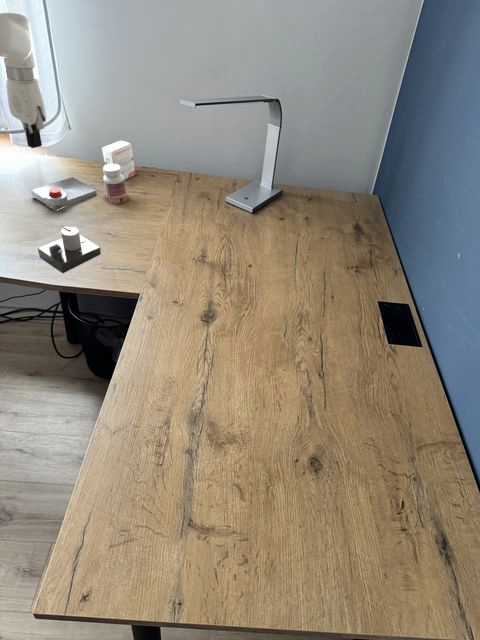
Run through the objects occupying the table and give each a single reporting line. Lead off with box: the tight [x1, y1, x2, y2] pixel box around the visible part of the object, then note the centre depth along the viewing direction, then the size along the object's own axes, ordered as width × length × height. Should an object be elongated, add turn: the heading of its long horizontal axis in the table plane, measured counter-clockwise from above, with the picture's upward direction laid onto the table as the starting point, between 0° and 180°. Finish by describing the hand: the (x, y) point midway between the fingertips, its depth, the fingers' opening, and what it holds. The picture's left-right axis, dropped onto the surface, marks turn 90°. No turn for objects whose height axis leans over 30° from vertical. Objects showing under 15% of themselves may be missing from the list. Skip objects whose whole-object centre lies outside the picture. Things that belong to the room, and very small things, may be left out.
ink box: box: [101, 140, 136, 181], centre depth 166 cm, size 9×5×12 cm, turn 145°
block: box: [30, 176, 98, 211], centre depth 156 cm, size 16×13×4 cm
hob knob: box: [60, 226, 81, 251], centre depth 131 cm, size 4×4×5 cm
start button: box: [49, 188, 61, 198], centre depth 150 cm, size 3×3×2 cm
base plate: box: [37, 234, 102, 274], centre depth 133 cm, size 12×10×3 cm
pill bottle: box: [102, 164, 128, 205], centre depth 155 cm, size 6×6×11 cm
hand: (35, 146), depth 138 cm, fingers closed
